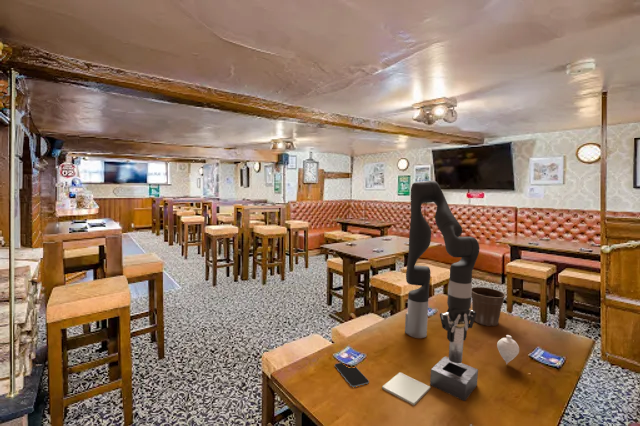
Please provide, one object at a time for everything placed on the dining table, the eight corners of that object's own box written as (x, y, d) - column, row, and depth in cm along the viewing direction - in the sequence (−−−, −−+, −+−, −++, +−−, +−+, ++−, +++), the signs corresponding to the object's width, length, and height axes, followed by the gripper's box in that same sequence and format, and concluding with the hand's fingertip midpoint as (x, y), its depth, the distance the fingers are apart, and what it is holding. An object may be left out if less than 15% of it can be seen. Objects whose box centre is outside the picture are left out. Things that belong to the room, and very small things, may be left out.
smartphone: (350, 360, 128) (370, 382, 114) (350, 362, 128) (370, 384, 114) (333, 364, 125) (351, 386, 111) (333, 366, 125) (351, 389, 111)
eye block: (430, 385, 114) (430, 369, 113) (443, 371, 122) (444, 356, 122) (464, 401, 105) (465, 384, 105) (476, 385, 114) (478, 369, 113)
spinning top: (506, 371, 123) (509, 341, 122) (491, 360, 130) (493, 332, 129) (522, 368, 125) (525, 339, 124) (506, 358, 132) (508, 330, 131)
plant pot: (503, 319, 171) (505, 290, 169) (502, 331, 157) (505, 299, 156) (470, 312, 179) (472, 284, 178) (466, 323, 166) (468, 293, 164)
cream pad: (382, 388, 111) (382, 386, 111) (399, 374, 120) (399, 372, 120) (413, 405, 103) (414, 403, 103) (430, 388, 111) (430, 386, 111)
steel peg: (454, 364, 110) (456, 325, 109) (445, 357, 115) (447, 319, 113) (465, 362, 111) (468, 324, 110) (456, 355, 116) (458, 318, 115)
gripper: (449, 299, 105) (446, 348, 107) (484, 295, 109) (481, 342, 111) (435, 291, 112) (432, 337, 114) (468, 288, 116) (465, 333, 118)
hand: (456, 340), depth 112 cm, fingers closed on steel peg, 4 cm apart
